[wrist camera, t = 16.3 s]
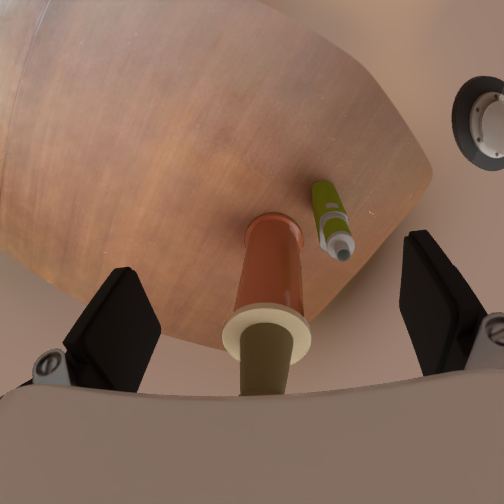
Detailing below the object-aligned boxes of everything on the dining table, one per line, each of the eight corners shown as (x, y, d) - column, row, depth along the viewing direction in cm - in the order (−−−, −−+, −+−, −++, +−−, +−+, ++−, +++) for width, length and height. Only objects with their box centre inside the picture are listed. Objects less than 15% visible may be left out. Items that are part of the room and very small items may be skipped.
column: (312, 225, 53) (326, 324, 33) (289, 270, 58) (289, 376, 38) (256, 204, 52) (237, 296, 32) (237, 253, 57) (212, 355, 37)
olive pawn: (303, 348, 35) (304, 433, 25) (258, 364, 37) (249, 444, 27) (275, 314, 32) (270, 404, 23) (229, 334, 35) (211, 418, 25)
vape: (334, 179, 49) (361, 237, 31) (334, 213, 52) (357, 284, 34) (311, 179, 49) (326, 239, 32) (312, 214, 52) (325, 286, 35)
